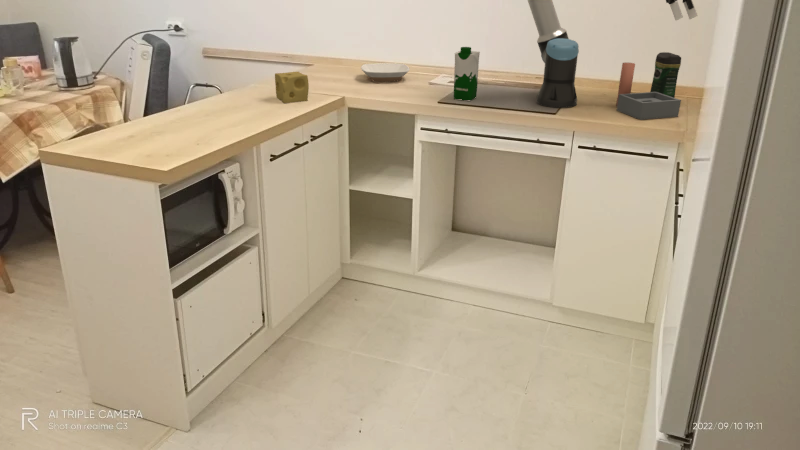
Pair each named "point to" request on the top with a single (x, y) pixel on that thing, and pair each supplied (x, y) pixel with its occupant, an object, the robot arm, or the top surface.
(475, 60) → the milk carton
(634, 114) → the box
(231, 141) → the top surface
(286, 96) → the cheese
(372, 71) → the bowl
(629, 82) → the peg
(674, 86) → the coffee jar
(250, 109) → the top surface
